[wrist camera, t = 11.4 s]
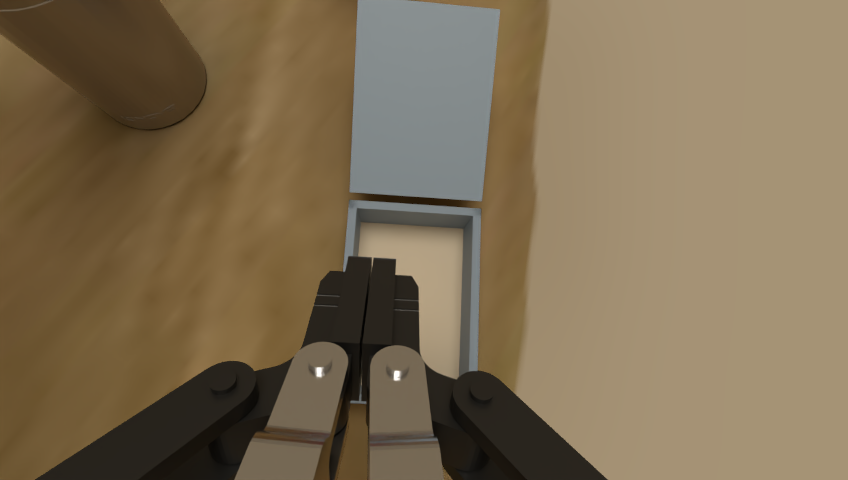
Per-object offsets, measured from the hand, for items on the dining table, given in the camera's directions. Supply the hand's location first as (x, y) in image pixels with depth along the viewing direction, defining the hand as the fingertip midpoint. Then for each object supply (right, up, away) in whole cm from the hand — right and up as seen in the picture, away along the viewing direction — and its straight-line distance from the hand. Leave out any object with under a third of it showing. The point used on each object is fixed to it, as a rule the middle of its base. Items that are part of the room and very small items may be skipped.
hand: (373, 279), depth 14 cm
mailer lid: (+1, +11, +17) cm, 21 cm away
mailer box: (0, -4, +22) cm, 22 cm away
